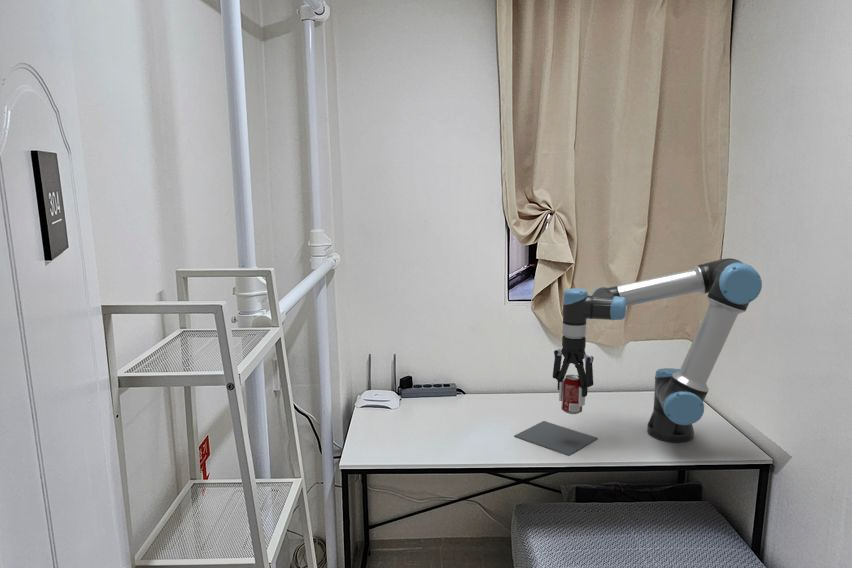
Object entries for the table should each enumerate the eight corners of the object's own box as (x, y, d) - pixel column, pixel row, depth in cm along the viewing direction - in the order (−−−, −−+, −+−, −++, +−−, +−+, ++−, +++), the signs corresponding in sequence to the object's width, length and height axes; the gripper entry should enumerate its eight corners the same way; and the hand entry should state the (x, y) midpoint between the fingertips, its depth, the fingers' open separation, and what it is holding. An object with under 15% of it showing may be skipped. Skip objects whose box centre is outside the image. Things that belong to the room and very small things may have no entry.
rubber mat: (597, 438, 215) (597, 437, 215) (569, 456, 202) (569, 454, 202) (543, 421, 230) (543, 420, 230) (514, 436, 217) (514, 435, 217)
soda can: (582, 416, 206) (585, 380, 204) (561, 413, 207) (563, 378, 206) (581, 409, 212) (583, 375, 211) (560, 407, 214) (563, 373, 212)
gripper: (607, 338, 201) (604, 407, 205) (554, 328, 215) (553, 392, 219) (595, 343, 196) (592, 413, 200) (542, 332, 209) (540, 398, 214)
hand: (571, 402), depth 209 cm, fingers closed on soda can, 7 cm apart
